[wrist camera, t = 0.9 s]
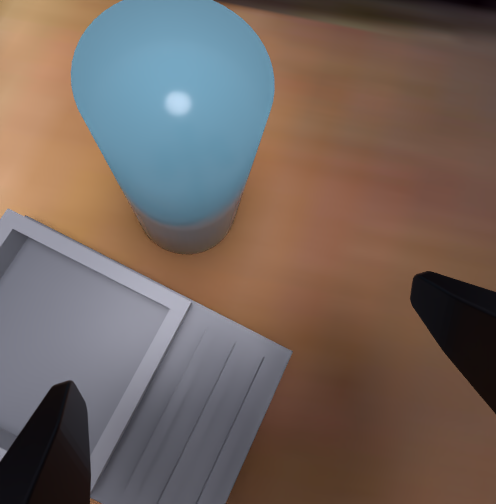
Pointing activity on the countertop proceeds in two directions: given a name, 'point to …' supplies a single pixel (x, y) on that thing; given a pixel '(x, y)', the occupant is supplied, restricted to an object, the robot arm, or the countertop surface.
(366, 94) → the countertop surface
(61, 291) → the kitchen sink with drainboard
